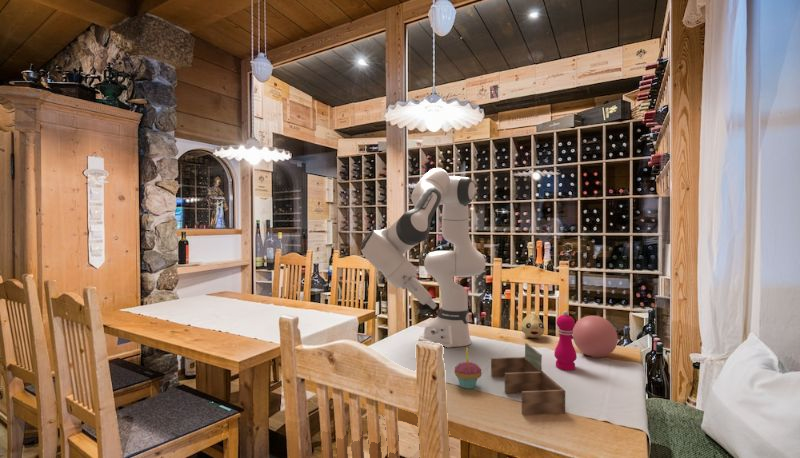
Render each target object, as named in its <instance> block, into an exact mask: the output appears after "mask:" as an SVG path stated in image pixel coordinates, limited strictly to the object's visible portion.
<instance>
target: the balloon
mask: <svg viewBox="0 0 800 458" xmlns="http://www.w3.org/2000/svg"><path fill="white" fill-rule="evenodd" d="M618 339H619V336H618V333H617V330H616V329H615V327H614V325H613V323H611V322H610V321H609V320H608V319H606V318H604V317H602V316H598V315H586V316H583V317H582V318H579V320H577V321H576V322H575V326H574V328H573V334H572V341H573V342H574V344H575V347H577V349H578V350H579V351H580V352H582V353H583V354H584V355H586V356H588V357H592V358H602V357H606V356H608V355H611V354H612V353H613V352H614V351H615V349H616V348H617V346H618Z"/></svg>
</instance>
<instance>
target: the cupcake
mask: <svg viewBox="0 0 800 458" xmlns="http://www.w3.org/2000/svg"><path fill="white" fill-rule="evenodd" d="M465 359H466V360H465V361H463V362H460V363H458V364H456V366H454V371H453V373H454V375H455V377H456V378H457V380H458V384H459V386H460V387H461V388H463V389H475V387H476V384H477V381H478V379H479V378H481V376H482V368H480V366H479V365H478V364H476V363H473V362H472V361H470V362H469V348H468V347H466V348H465Z"/></svg>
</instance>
